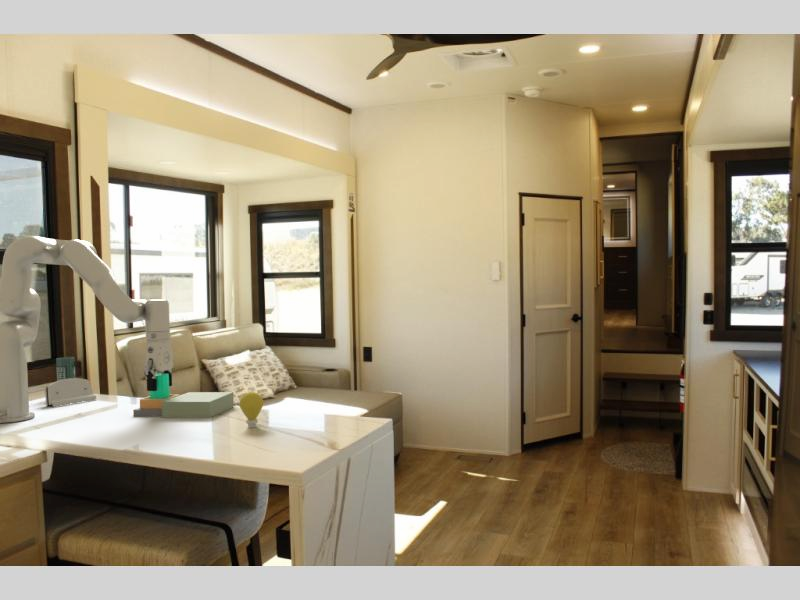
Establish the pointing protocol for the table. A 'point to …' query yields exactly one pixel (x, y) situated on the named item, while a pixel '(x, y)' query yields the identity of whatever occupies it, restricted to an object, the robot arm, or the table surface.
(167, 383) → the candle
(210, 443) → the table surface
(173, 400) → the desk organizer
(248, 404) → the light bulb
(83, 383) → the hinge
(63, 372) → the can
